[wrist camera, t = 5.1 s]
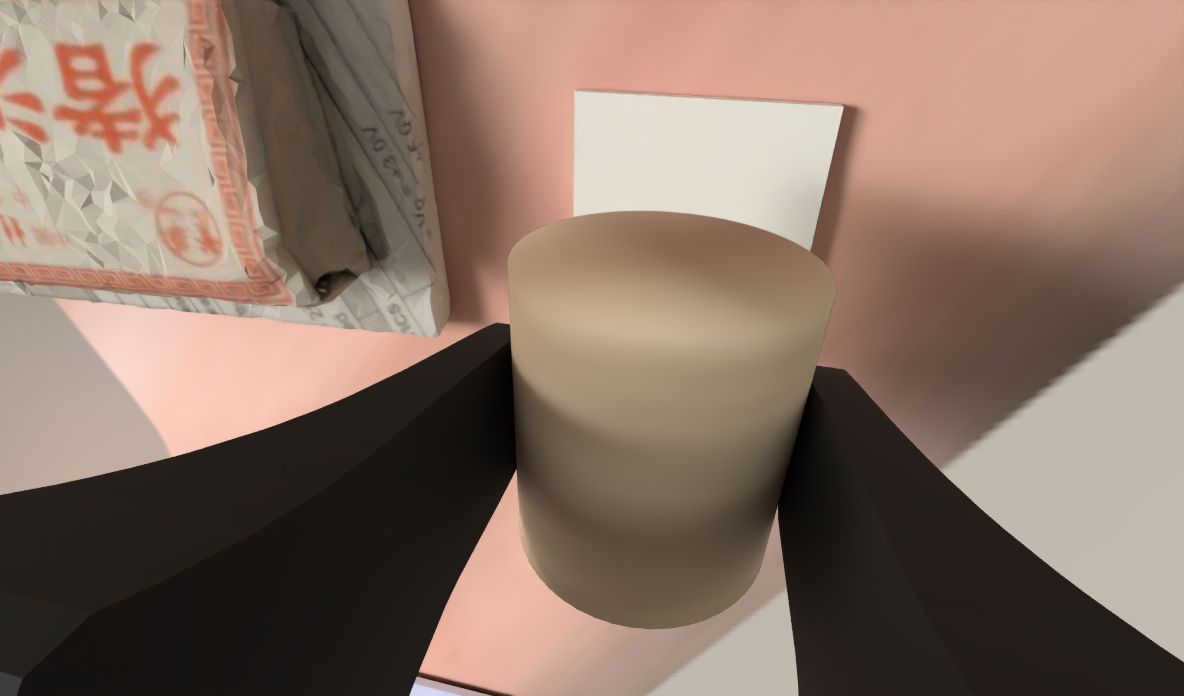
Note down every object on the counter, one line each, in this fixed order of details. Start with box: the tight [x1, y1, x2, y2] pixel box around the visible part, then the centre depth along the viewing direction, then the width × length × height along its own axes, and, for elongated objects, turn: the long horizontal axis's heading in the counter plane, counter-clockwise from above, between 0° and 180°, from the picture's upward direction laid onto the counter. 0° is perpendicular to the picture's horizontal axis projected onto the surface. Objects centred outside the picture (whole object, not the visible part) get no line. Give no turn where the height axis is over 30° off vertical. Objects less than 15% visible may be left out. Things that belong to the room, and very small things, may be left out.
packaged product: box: [0, 0, 451, 337], centre depth 15 cm, size 18×5×10 cm
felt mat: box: [573, 89, 844, 251], centre depth 14 cm, size 8×6×1 cm
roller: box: [507, 211, 837, 629], centre depth 9 cm, size 5×4×4 cm
